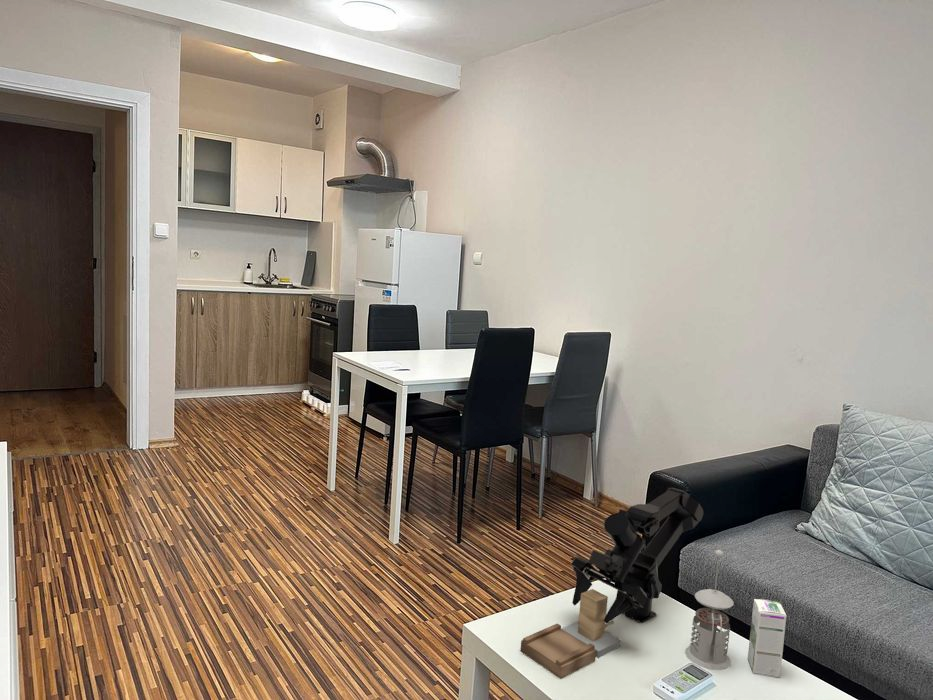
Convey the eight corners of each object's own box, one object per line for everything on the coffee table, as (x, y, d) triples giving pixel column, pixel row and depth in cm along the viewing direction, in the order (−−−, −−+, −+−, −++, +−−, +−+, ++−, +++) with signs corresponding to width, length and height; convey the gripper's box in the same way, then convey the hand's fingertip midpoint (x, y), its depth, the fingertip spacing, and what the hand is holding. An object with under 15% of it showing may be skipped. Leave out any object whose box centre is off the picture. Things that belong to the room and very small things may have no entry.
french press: (727, 648, 154) (739, 544, 151) (736, 678, 143) (749, 566, 139) (682, 641, 156) (693, 538, 153) (688, 670, 144) (700, 559, 141)
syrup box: (780, 678, 143) (788, 614, 142) (751, 673, 145) (759, 610, 143) (774, 663, 149) (781, 601, 147) (745, 658, 150) (753, 597, 148)
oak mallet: (605, 619, 160) (608, 582, 159) (620, 628, 157) (624, 589, 156) (577, 632, 154) (580, 593, 153) (592, 641, 151) (596, 601, 149)
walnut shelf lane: (554, 635, 155) (555, 622, 154) (595, 661, 146) (596, 646, 145) (520, 651, 148) (521, 637, 147) (560, 678, 139) (562, 663, 138)
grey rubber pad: (583, 624, 161) (583, 618, 160) (620, 646, 152) (621, 639, 152) (560, 634, 155) (561, 628, 155) (597, 657, 147) (598, 651, 147)
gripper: (578, 524, 160) (543, 579, 155) (644, 552, 146) (608, 614, 141) (597, 548, 166) (564, 602, 161) (661, 577, 152) (627, 638, 147)
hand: (589, 613), depth 152 cm, fingers open, 9 cm apart
